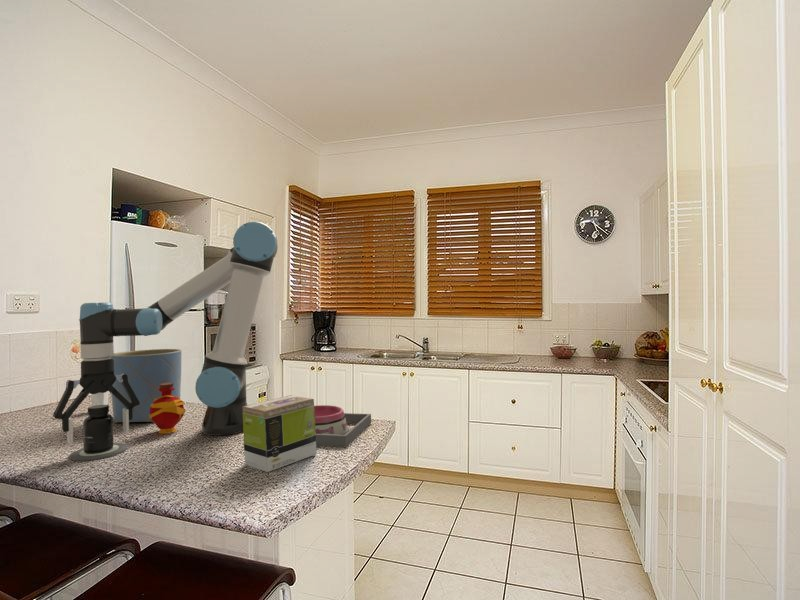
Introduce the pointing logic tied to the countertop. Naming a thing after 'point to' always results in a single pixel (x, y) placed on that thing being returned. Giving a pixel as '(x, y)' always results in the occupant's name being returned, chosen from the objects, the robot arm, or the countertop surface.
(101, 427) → the supplement bottle
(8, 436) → the countertop surface
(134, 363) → the planter
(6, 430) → the countertop surface
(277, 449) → the tea box
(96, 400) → the cup
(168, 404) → the potion bottle
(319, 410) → the dog bowl
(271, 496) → the countertop surface
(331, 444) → the bowl mat frame
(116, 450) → the plate
